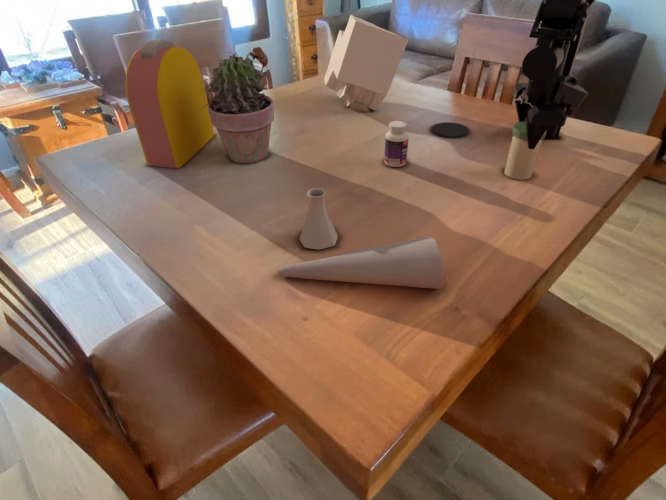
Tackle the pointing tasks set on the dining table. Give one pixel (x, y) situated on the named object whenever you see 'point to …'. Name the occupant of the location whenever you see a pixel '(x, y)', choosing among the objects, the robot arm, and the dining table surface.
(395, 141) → the pill bottle
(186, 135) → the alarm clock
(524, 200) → the dining table surface
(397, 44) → the beige tilted block
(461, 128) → the coaster
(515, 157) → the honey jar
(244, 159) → the potted plant
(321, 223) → the flask
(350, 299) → the dining table surface
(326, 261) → the grey long cone
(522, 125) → the lid
